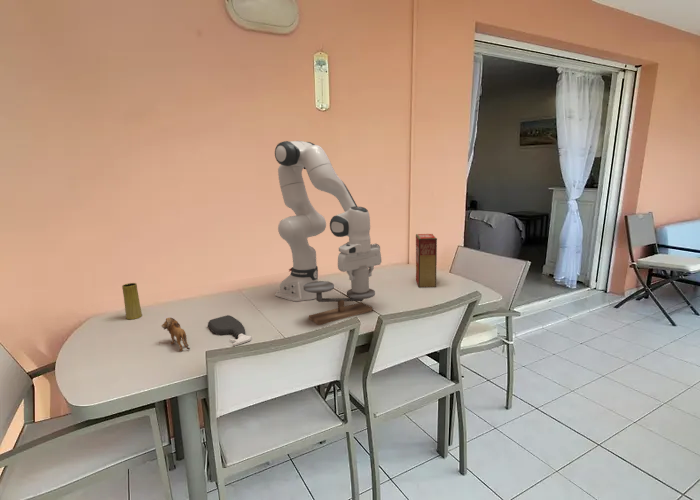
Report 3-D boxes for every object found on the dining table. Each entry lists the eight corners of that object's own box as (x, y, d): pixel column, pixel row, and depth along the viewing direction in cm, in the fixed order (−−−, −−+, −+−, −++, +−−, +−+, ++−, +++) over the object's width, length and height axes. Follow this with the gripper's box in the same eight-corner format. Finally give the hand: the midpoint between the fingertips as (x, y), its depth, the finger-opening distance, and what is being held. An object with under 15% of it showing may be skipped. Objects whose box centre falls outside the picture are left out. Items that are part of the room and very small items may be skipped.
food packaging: (414, 279, 207) (415, 233, 201) (432, 279, 206) (433, 233, 201) (418, 287, 194) (418, 238, 188) (437, 287, 193) (438, 238, 188)
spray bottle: (232, 320, 159) (259, 340, 140) (205, 327, 152) (230, 350, 134) (231, 313, 158) (258, 333, 140) (204, 320, 152) (229, 342, 133)
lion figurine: (162, 342, 140) (158, 318, 138) (176, 337, 144) (173, 314, 142) (183, 353, 131) (179, 328, 129) (197, 347, 135) (194, 323, 133)
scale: (300, 319, 158) (298, 284, 154) (364, 302, 174) (363, 271, 171) (314, 328, 148) (312, 292, 145) (380, 310, 165) (380, 277, 162)
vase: (124, 316, 165) (119, 284, 162) (140, 313, 169) (135, 281, 166) (127, 320, 160) (122, 288, 157) (143, 317, 164) (139, 284, 161)
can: (367, 295, 161) (366, 267, 158) (349, 294, 162) (349, 266, 160) (370, 289, 168) (369, 262, 165) (353, 288, 170) (352, 262, 167)
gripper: (375, 241, 169) (375, 272, 172) (335, 248, 158) (336, 280, 161) (384, 244, 163) (384, 275, 166) (343, 250, 153) (344, 284, 155)
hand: (360, 278), depth 163 cm, fingers closed on can, 7 cm apart
